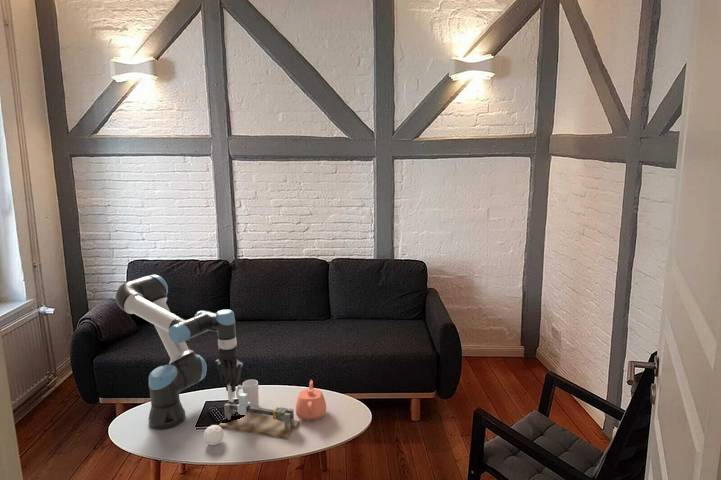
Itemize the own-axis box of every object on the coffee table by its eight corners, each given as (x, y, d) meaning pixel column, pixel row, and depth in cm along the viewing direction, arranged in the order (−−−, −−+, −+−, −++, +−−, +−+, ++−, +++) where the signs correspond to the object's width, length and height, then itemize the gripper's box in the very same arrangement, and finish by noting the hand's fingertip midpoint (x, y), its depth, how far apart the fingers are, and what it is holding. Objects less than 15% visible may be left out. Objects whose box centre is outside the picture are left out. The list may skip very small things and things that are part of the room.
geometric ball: (218, 451, 212) (218, 444, 206) (200, 443, 213) (199, 435, 207) (227, 434, 217) (227, 426, 211) (209, 426, 218) (209, 418, 212)
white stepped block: (237, 414, 225) (236, 396, 223) (242, 409, 228) (241, 391, 227) (246, 415, 224) (244, 397, 222) (250, 410, 227) (249, 392, 225)
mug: (260, 403, 243) (259, 379, 240) (257, 411, 236) (256, 386, 234) (239, 403, 243) (237, 379, 241) (235, 411, 237) (233, 386, 234)
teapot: (326, 402, 243) (325, 378, 240) (326, 426, 224) (325, 400, 221) (297, 403, 242) (296, 379, 240) (294, 428, 223) (293, 401, 220)
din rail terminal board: (218, 427, 224) (217, 408, 222) (233, 412, 235) (232, 394, 233) (288, 439, 215) (287, 419, 213) (299, 423, 226) (299, 404, 224)
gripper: (209, 348, 220) (213, 400, 225) (236, 351, 216) (240, 404, 221) (218, 341, 227) (223, 391, 232) (245, 344, 223) (249, 395, 228)
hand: (231, 397), depth 226 cm, fingers closed
